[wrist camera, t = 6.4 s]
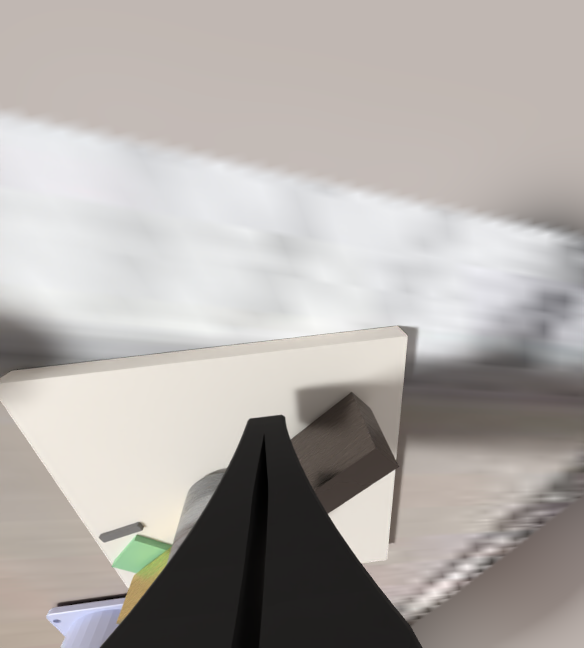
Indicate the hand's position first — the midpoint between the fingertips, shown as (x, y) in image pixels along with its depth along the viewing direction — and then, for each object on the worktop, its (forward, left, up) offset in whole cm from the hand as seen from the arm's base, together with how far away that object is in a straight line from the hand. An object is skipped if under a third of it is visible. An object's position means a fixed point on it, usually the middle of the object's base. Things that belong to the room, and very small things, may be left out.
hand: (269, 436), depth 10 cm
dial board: (-6, +2, -3) cm, 7 cm away
